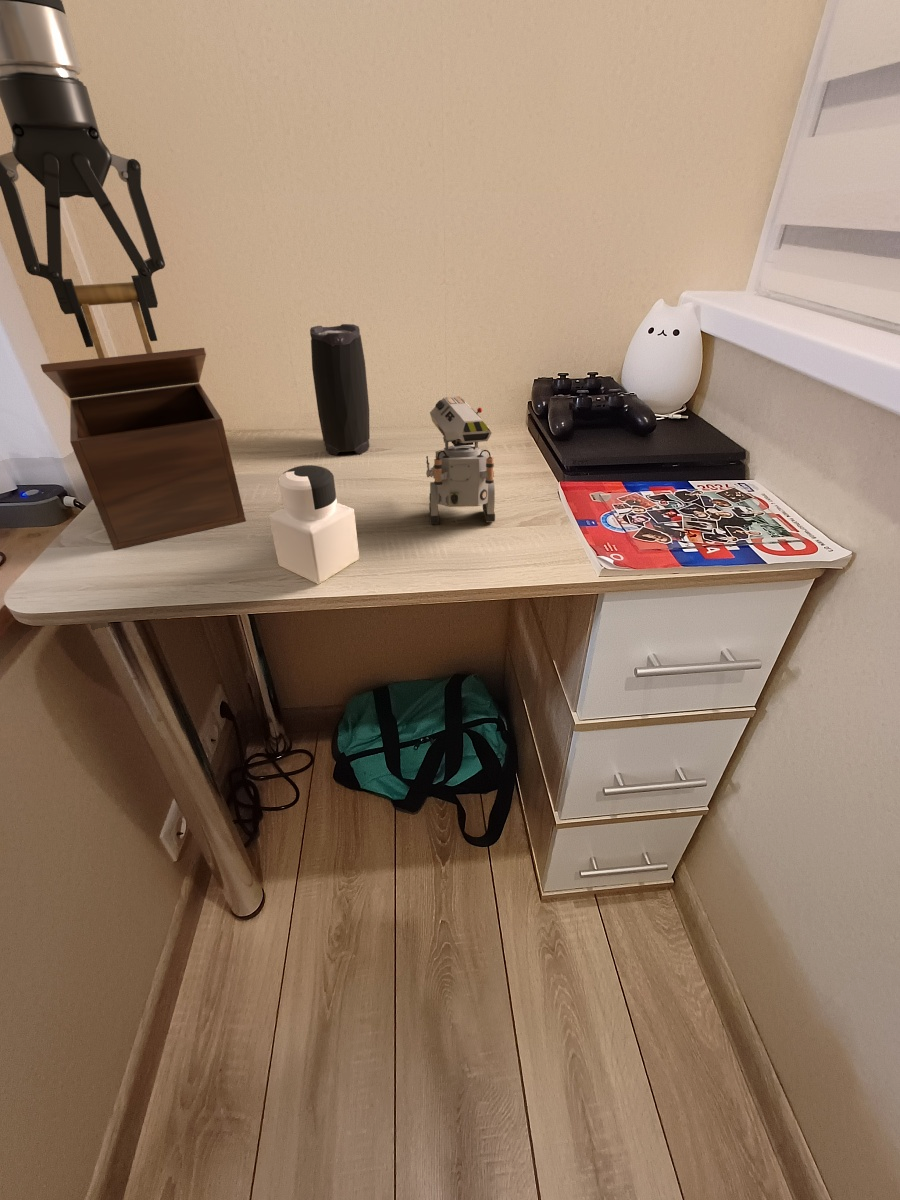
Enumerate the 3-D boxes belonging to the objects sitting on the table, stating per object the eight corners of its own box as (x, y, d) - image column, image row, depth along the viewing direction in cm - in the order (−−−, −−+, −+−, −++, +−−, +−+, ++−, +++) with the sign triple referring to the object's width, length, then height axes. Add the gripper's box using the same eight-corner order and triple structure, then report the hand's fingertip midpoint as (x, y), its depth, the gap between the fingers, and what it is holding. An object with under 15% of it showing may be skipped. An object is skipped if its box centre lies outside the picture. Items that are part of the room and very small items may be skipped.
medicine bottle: (320, 542, 75) (307, 454, 68) (360, 559, 71) (351, 469, 64) (277, 566, 70) (258, 474, 63) (318, 585, 67) (303, 491, 60)
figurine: (486, 492, 87) (490, 392, 78) (496, 529, 78) (502, 420, 69) (426, 494, 86) (424, 393, 77) (429, 531, 77) (426, 421, 68)
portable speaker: (366, 436, 105) (356, 320, 94) (376, 455, 98) (367, 332, 87) (319, 441, 103) (304, 323, 92) (326, 461, 96) (310, 336, 85)
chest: (246, 521, 79) (222, 418, 71) (113, 550, 73) (70, 441, 64) (222, 474, 92) (199, 382, 83) (107, 496, 85) (70, 399, 77)
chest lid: (206, 354, 67) (183, 272, 64) (42, 372, 60) (10, 281, 58) (199, 382, 83) (180, 317, 81) (69, 398, 77) (45, 328, 74)
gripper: (146, 87, 60) (201, 328, 73) (-79, 73, 52) (29, 343, 66) (153, 78, 54) (211, 339, 68) (-97, 61, 47) (25, 357, 61)
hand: (121, 341), depth 67 cm, fingers closed on chest lid, 6 cm apart
